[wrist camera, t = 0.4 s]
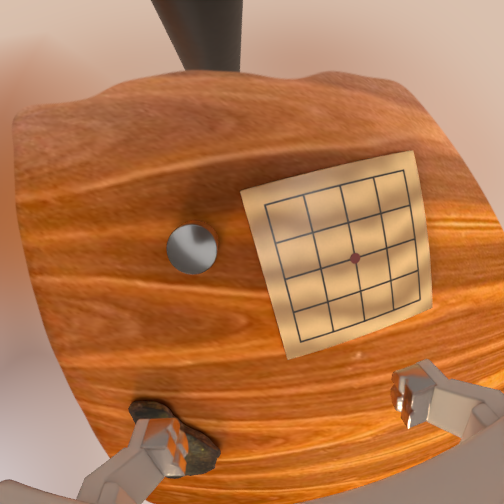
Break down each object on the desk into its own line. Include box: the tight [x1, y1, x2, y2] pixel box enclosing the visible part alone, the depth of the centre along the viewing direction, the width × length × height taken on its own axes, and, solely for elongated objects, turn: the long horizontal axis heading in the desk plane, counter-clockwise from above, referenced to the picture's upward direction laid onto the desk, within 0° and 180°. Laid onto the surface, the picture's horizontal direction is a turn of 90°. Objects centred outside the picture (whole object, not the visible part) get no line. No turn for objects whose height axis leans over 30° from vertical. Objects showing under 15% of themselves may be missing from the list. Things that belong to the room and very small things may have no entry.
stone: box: [128, 401, 221, 479], centre depth 37 cm, size 18×11×3 cm, turn 7°
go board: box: [240, 150, 432, 360], centre depth 32 cm, size 20×20×2 cm
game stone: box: [167, 220, 219, 274], centre depth 30 cm, size 5×5×3 cm
